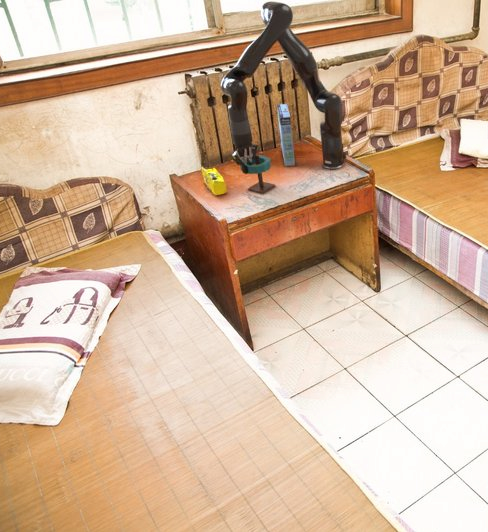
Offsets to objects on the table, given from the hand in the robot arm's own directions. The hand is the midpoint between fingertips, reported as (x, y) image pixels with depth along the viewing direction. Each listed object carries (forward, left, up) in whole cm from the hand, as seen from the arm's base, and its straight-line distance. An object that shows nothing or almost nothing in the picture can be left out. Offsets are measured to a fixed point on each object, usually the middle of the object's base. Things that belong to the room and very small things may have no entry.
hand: (248, 172), depth 221 cm
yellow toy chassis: (+3, -18, -10) cm, 21 cm away
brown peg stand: (-7, 0, -10) cm, 12 cm away
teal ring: (-5, 0, 0) cm, 5 cm away
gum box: (-39, -10, -10) cm, 41 cm away
